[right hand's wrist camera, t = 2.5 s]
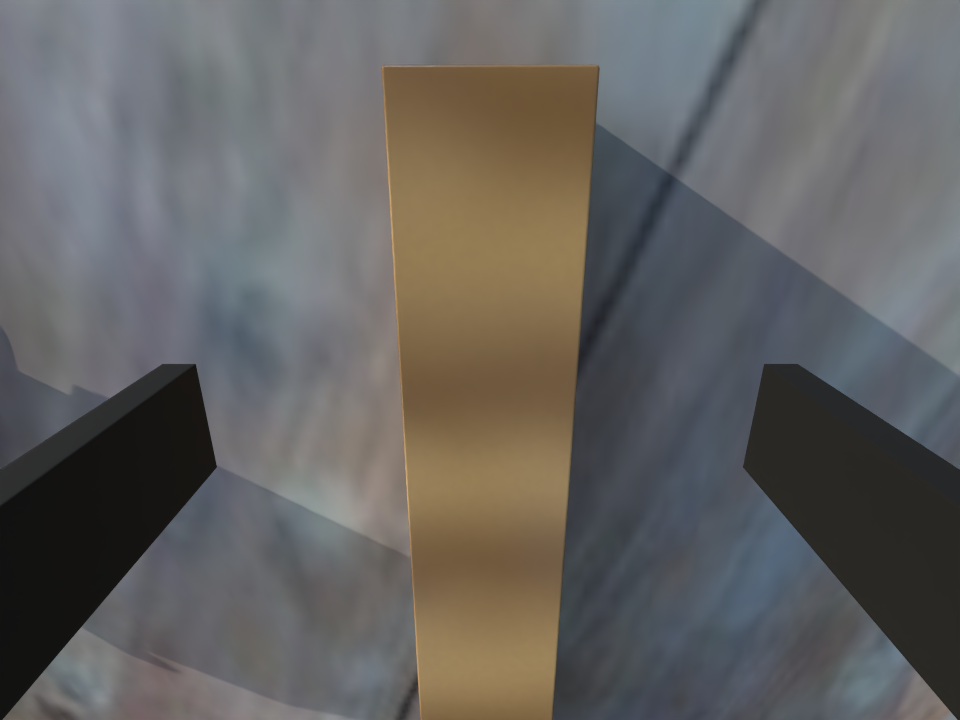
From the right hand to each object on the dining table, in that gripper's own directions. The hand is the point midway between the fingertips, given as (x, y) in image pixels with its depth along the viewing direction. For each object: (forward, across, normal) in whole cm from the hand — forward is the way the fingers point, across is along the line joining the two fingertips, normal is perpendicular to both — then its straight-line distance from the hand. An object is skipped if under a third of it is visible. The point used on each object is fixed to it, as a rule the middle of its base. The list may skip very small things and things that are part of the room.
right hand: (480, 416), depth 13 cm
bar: (+12, 0, -18) cm, 21 cm away
